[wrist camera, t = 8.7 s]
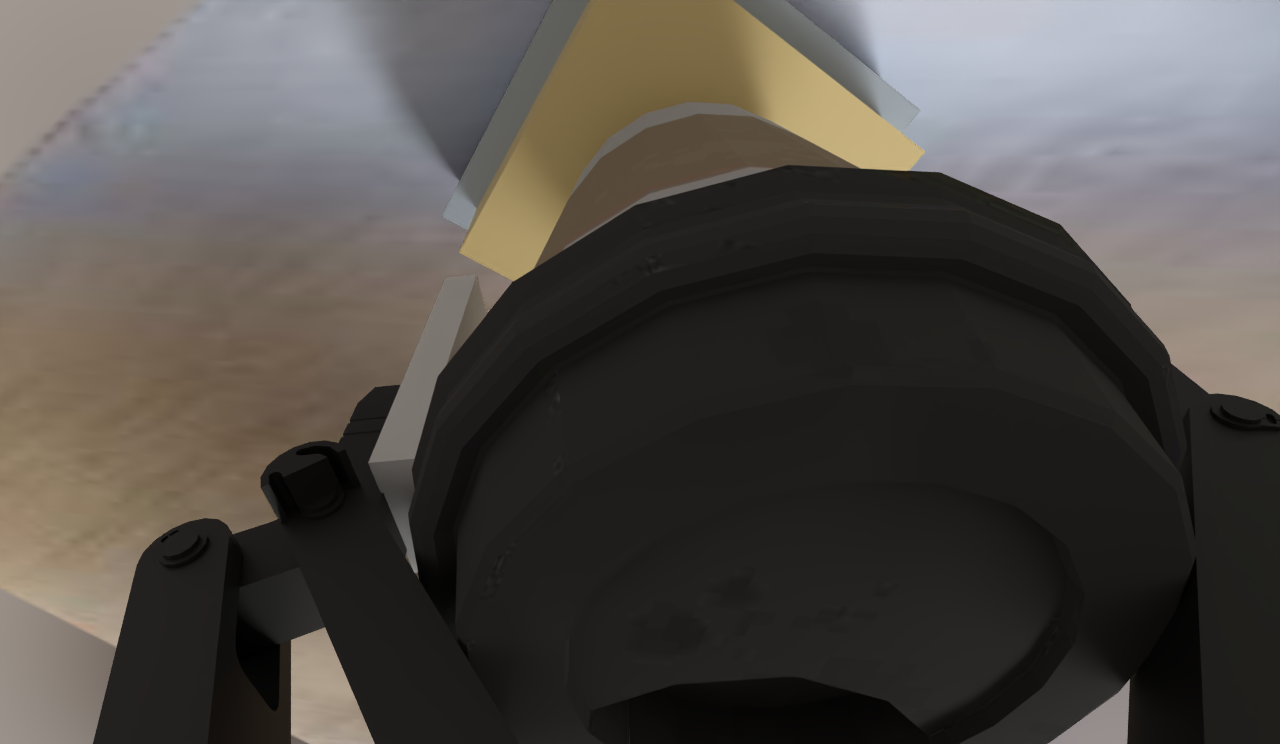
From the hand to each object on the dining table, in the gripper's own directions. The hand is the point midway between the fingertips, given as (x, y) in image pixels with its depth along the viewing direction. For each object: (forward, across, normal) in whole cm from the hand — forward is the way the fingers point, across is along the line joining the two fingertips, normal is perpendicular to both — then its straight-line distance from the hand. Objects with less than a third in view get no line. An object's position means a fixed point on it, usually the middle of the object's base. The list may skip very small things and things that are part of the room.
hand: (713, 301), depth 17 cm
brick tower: (+15, 0, 0) cm, 15 cm away
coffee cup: (+5, 0, 0) cm, 5 cm away
